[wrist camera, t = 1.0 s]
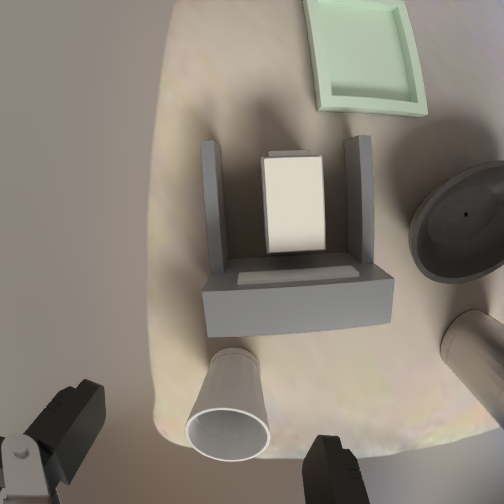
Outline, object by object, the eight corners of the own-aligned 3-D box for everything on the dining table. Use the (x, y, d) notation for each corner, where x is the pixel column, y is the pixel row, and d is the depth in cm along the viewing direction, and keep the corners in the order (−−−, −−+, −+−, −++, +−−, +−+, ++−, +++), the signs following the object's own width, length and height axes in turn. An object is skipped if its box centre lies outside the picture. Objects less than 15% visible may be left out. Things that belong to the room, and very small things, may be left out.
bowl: (373, 191, 31) (397, 193, 25) (500, 148, 29) (530, 147, 23) (398, 289, 34) (421, 308, 28) (515, 231, 32) (543, 239, 26)
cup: (215, 397, 37) (202, 464, 26) (193, 348, 36) (171, 413, 24) (273, 386, 37) (278, 455, 25) (257, 334, 35) (257, 400, 24)
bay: (354, 141, 30) (392, 127, 20) (356, 285, 34) (390, 323, 24) (208, 147, 31) (188, 132, 21) (220, 294, 34) (207, 337, 24)
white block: (307, 154, 31) (322, 146, 23) (311, 235, 33) (326, 251, 25) (259, 156, 31) (260, 149, 24) (264, 238, 33) (267, 254, 25)
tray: (396, 9, 26) (404, 1, 24) (418, 117, 29) (428, 114, 27) (301, -3, 26) (304, -13, 24) (316, 111, 30) (321, 106, 27)
